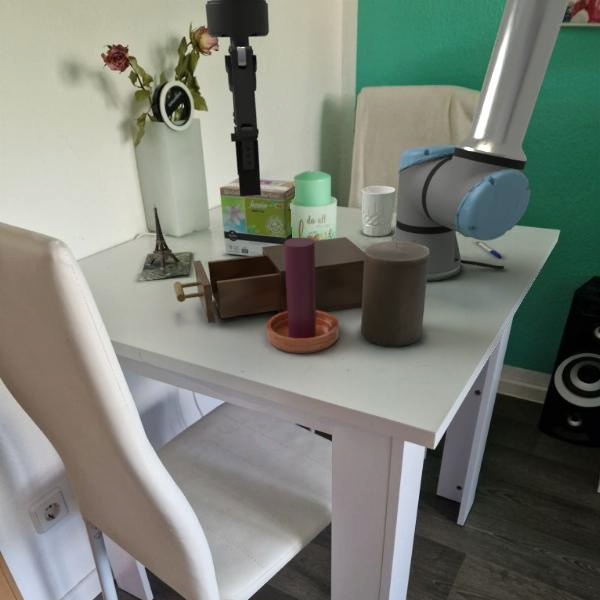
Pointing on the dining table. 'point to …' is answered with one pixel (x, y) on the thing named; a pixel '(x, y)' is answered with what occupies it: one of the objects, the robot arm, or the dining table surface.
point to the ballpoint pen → (490, 250)
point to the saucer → (324, 338)
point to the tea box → (256, 216)
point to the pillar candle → (394, 292)
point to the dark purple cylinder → (300, 287)
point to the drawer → (235, 286)
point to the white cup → (377, 210)
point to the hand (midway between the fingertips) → (248, 184)
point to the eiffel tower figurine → (164, 259)
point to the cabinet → (327, 273)
